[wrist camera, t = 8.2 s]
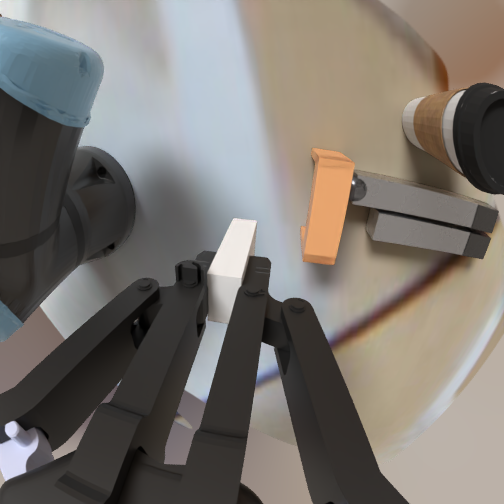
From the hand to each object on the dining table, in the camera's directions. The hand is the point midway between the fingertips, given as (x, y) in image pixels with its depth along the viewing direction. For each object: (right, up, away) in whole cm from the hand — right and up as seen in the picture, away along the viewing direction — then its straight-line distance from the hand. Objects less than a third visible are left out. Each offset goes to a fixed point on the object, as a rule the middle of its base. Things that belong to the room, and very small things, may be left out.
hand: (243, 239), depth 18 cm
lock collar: (+8, +6, +11) cm, 15 cm away
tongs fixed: (+20, +5, +9) cm, 23 cm away
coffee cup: (+19, +13, +6) cm, 24 cm away
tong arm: (+22, +2, +11) cm, 25 cm away
